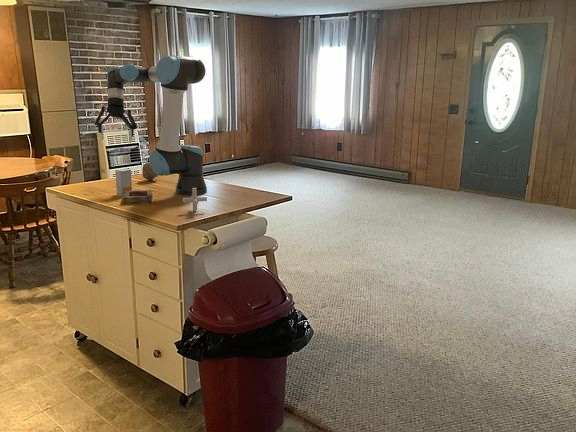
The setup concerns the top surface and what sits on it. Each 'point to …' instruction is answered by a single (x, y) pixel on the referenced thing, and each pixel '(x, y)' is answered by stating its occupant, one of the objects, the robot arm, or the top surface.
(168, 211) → the top surface
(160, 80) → the robot arm
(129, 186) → the skincare box
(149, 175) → the natural sponge
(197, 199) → the pipe connector
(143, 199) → the socket
